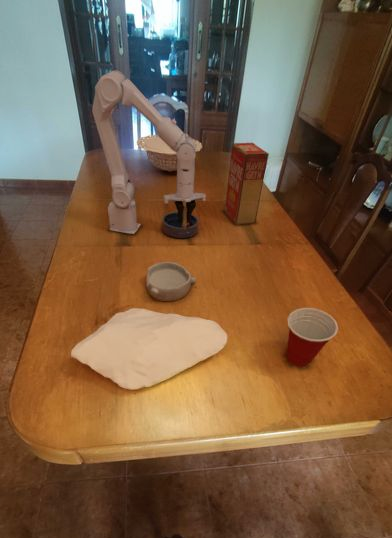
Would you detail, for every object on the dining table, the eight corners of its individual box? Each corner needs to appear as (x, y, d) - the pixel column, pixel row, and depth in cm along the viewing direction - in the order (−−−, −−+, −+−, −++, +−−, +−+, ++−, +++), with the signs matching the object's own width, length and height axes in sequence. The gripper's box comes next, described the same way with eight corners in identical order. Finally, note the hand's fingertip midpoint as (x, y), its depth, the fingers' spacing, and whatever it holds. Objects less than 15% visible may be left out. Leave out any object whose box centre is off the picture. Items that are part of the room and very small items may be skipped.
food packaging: (222, 210, 134) (231, 142, 116) (243, 209, 136) (254, 141, 118) (235, 225, 125) (246, 153, 107) (256, 223, 128) (270, 153, 110)
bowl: (157, 235, 116) (157, 224, 113) (168, 220, 125) (168, 209, 122) (193, 242, 114) (194, 231, 111) (201, 225, 123) (202, 215, 120)
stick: (180, 229, 117) (181, 208, 111) (182, 227, 118) (183, 206, 112) (185, 230, 117) (186, 209, 111) (187, 228, 118) (187, 207, 112)
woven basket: (174, 158, 177) (174, 131, 168) (213, 175, 162) (216, 147, 153) (125, 168, 161) (122, 139, 152) (164, 188, 146) (164, 157, 137)
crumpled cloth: (75, 323, 80) (66, 298, 72) (208, 307, 87) (213, 282, 79) (79, 408, 67) (69, 389, 60) (234, 381, 74) (242, 360, 67)
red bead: (181, 224, 120) (184, 221, 118) (186, 222, 121) (188, 219, 119) (184, 229, 120) (187, 226, 118) (189, 227, 121) (191, 224, 119)
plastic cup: (270, 342, 81) (282, 306, 73) (310, 342, 83) (327, 306, 74) (281, 376, 74) (296, 340, 65) (325, 374, 75) (346, 339, 66)
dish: (155, 308, 88) (154, 293, 84) (137, 280, 96) (136, 266, 92) (201, 295, 93) (202, 281, 89) (180, 270, 101) (181, 256, 97)
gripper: (167, 187, 101) (167, 228, 111) (209, 185, 104) (206, 225, 114) (162, 179, 105) (162, 219, 115) (203, 177, 109) (200, 216, 119)
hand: (184, 221), depth 115 cm, fingers closed on stick, 2 cm apart
